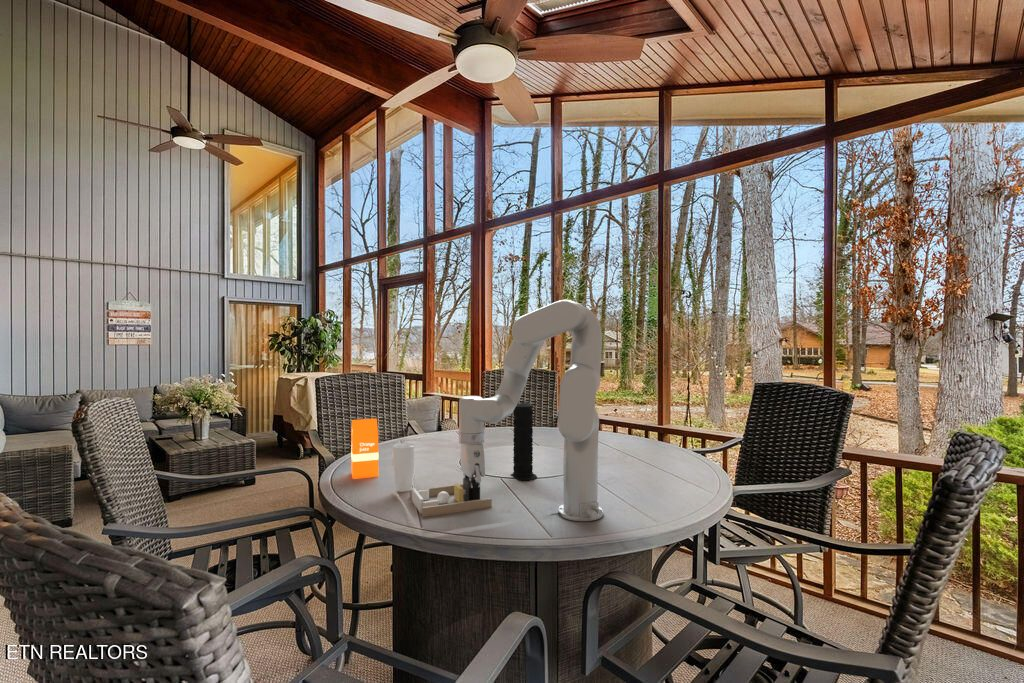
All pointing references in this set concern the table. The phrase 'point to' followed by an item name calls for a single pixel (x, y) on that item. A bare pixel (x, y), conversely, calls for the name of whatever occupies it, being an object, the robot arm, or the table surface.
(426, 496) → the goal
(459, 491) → the grey cube yellow base
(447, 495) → the ball
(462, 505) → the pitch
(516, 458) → the handle grip
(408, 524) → the table surface
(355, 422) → the orange juice
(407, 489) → the drinking glass
